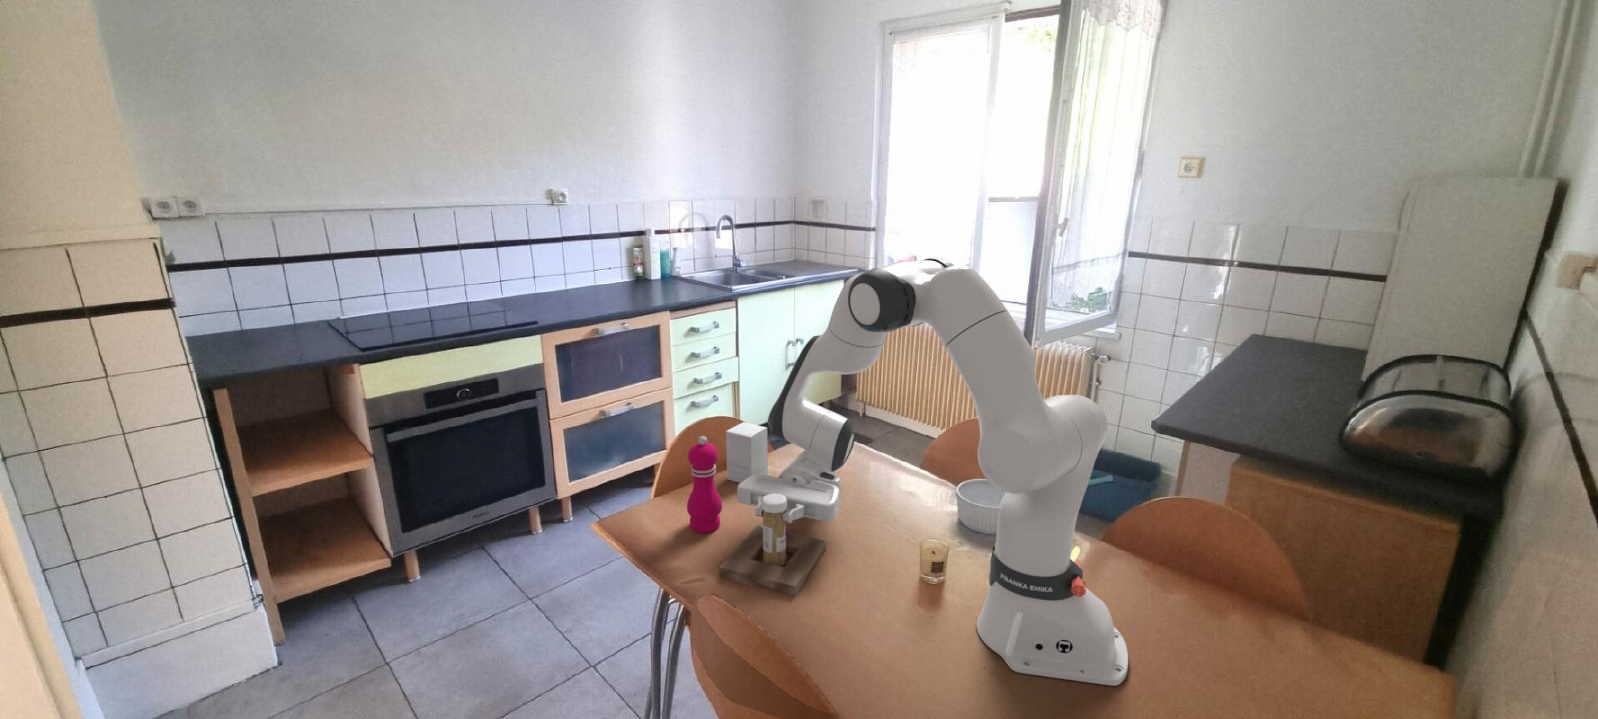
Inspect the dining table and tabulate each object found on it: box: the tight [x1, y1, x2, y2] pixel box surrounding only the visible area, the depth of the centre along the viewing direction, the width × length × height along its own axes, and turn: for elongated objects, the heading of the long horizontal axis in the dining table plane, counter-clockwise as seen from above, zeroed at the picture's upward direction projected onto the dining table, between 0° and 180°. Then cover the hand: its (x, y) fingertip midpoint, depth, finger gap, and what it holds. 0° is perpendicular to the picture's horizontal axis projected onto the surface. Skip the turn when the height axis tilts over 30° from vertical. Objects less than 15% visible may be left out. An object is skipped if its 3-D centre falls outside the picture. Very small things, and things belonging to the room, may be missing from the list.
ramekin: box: [955, 478, 1006, 535], centre depth 141 cm, size 13×13×7 cm
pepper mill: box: [686, 435, 723, 534], centre depth 137 cm, size 7×7×20 cm
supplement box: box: [725, 421, 769, 484], centre depth 160 cm, size 7×7×13 cm
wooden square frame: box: [718, 525, 827, 597], centre depth 126 cm, size 15×16×2 cm
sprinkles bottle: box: [762, 494, 787, 567], centre depth 125 cm, size 5×5×14 cm
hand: (772, 515), depth 123 cm, fingers closed on sprinkles bottle, 4 cm apart
